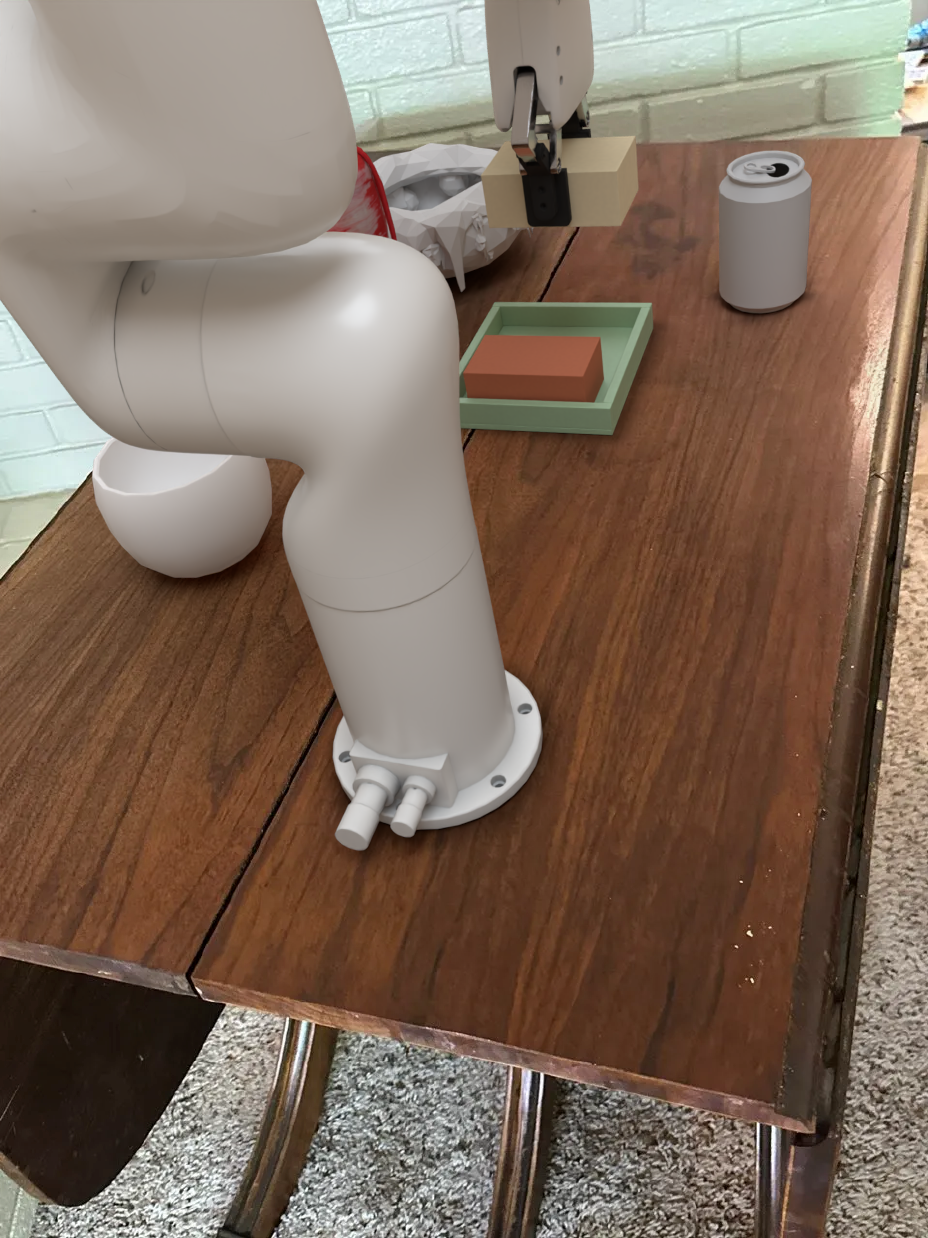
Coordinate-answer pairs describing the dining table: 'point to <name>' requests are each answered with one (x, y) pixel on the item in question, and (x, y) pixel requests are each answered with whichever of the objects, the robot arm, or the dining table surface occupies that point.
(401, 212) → the bowl
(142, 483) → the cup
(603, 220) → the pad beige
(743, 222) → the can
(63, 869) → the dining table surface
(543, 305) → the frame
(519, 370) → the pad terracotta
